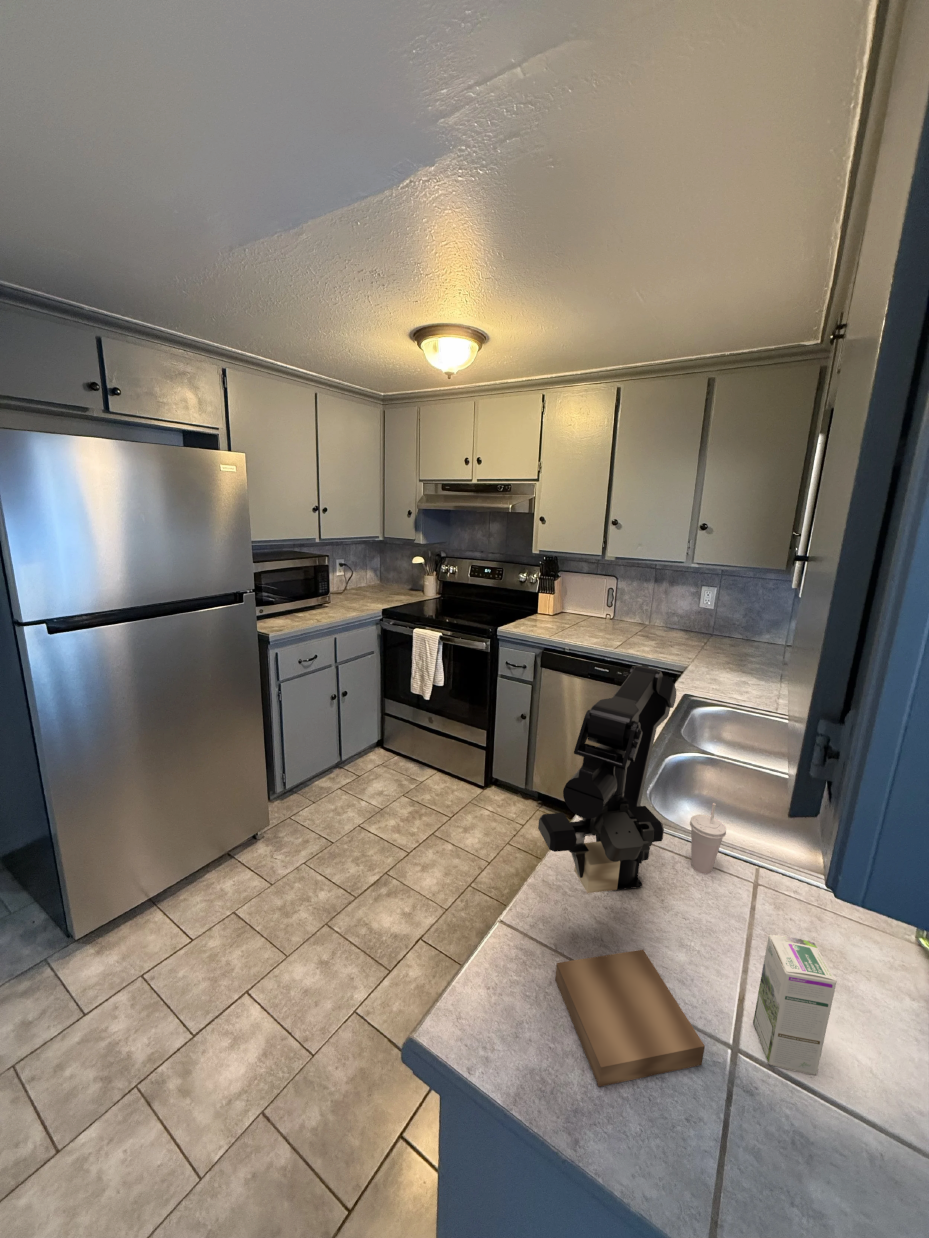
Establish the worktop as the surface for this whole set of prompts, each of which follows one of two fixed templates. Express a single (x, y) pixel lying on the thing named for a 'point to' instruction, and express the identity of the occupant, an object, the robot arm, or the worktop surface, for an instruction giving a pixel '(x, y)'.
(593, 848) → the maple cube
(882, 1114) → the worktop surface
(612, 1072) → the walnut base
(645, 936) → the worktop surface
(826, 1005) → the syrup box
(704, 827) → the smoothie
